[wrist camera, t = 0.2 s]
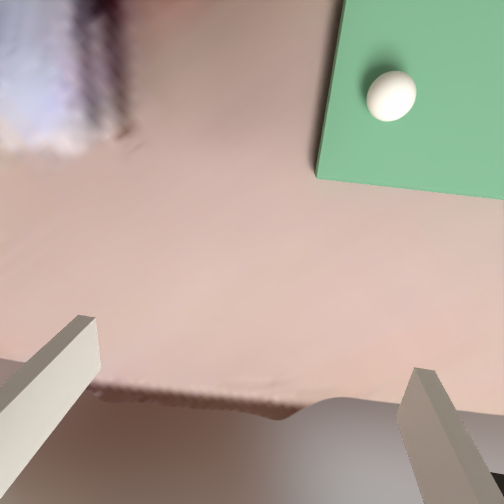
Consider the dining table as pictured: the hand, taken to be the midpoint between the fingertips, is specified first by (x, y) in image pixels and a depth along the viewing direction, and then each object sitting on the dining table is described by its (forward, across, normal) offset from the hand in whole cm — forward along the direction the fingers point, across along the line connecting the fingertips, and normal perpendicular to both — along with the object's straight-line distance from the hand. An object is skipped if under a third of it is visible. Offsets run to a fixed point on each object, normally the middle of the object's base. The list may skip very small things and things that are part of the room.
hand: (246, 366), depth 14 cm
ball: (+22, +9, +12) cm, 27 cm away
